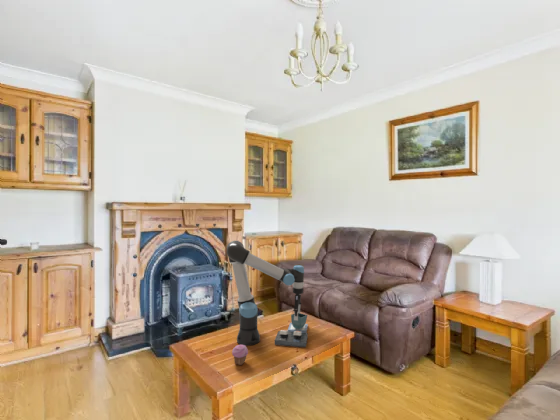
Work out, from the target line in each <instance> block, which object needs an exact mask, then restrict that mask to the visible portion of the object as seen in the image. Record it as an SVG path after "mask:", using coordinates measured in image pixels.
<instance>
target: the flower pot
mask: <svg viewBox="0 0 560 420" xmlns="http://www.w3.org/2000/svg"><path fill="white" fill-rule="evenodd" d="M290 317H291V318H290V319H291V322H290V323H292V325H293V327H294V328H297V329H301V328H303V327H304V325H305V324H307V319H308V314H305V313H304V314H303V313H301V312H300V313H298V321H296V320H294V313H293V314H292V313H291V316H290Z"/></svg>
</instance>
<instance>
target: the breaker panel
mask: <svg viewBox="0 0 560 420" xmlns="http://www.w3.org/2000/svg"><path fill="white" fill-rule="evenodd" d="M280 331H281V330H279V331H277V334H276V335H275V338H274V346H285V347H294V348H295V347H298V348H307V344H308V339H309V338H308V335H309V334H308V333H307V332H306V333H302V335H301V336H299V335H294V332H288V334H287V335H284V334H280Z"/></svg>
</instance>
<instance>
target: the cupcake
mask: <svg viewBox="0 0 560 420" xmlns="http://www.w3.org/2000/svg"><path fill="white" fill-rule="evenodd" d="M231 354H232V356H233V360H234V361H233V362H234V364H235V365H238V366H242V365H243V364H244V363H245V362H246V359H247V355H248V354H249V349H248V347H247V346H246V345H241V344H238V345H235V347H233V349H232V351H231Z"/></svg>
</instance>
